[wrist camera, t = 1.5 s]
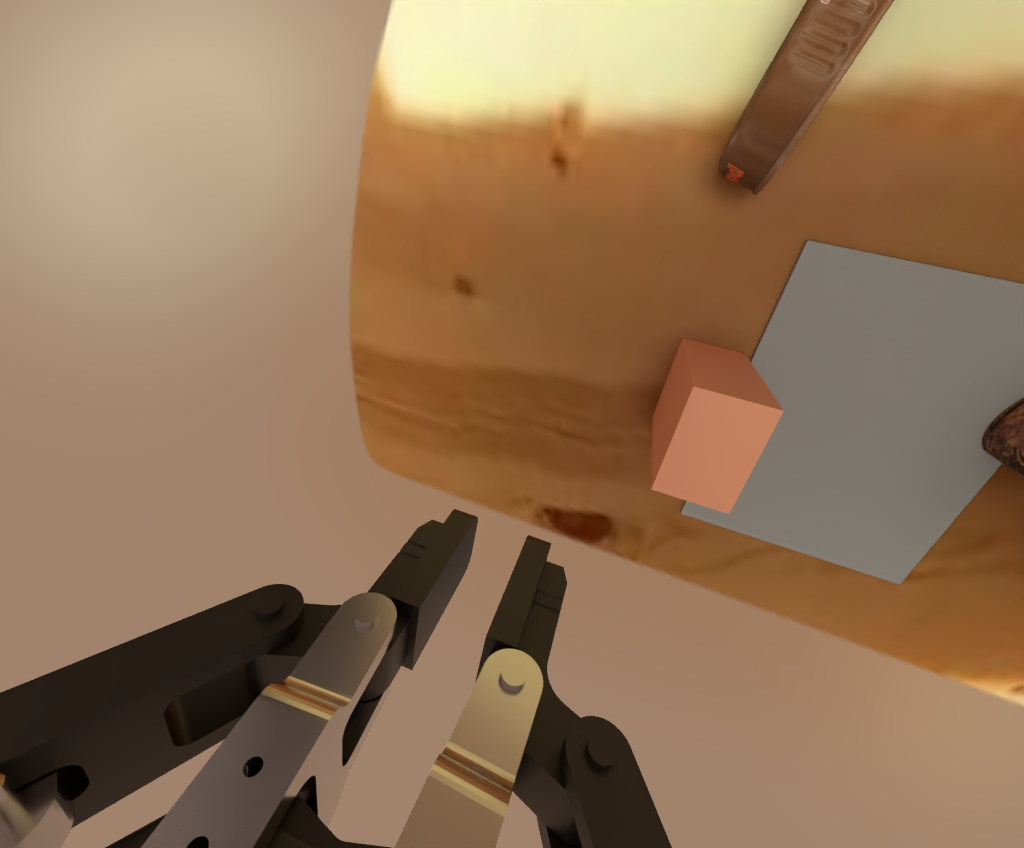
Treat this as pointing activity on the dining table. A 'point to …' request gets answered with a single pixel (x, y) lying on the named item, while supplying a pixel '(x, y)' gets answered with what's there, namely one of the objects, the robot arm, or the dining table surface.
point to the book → (1007, 438)
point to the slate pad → (877, 407)
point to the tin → (797, 86)
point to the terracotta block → (710, 425)
